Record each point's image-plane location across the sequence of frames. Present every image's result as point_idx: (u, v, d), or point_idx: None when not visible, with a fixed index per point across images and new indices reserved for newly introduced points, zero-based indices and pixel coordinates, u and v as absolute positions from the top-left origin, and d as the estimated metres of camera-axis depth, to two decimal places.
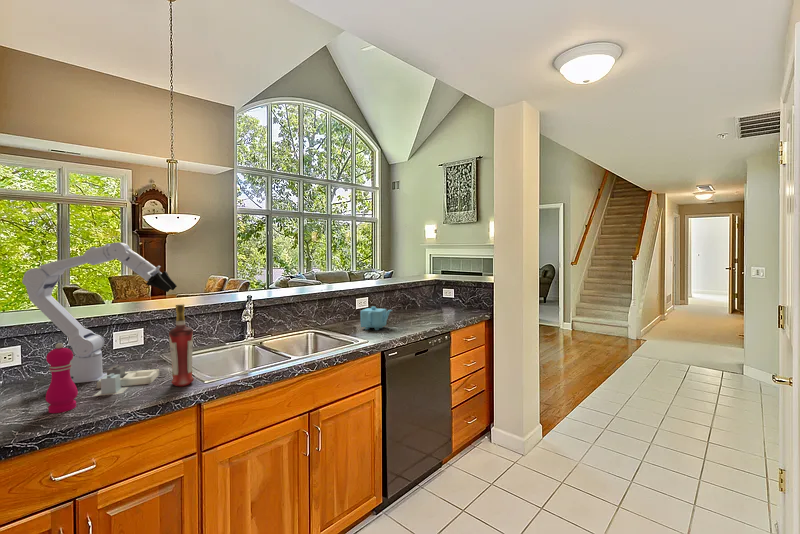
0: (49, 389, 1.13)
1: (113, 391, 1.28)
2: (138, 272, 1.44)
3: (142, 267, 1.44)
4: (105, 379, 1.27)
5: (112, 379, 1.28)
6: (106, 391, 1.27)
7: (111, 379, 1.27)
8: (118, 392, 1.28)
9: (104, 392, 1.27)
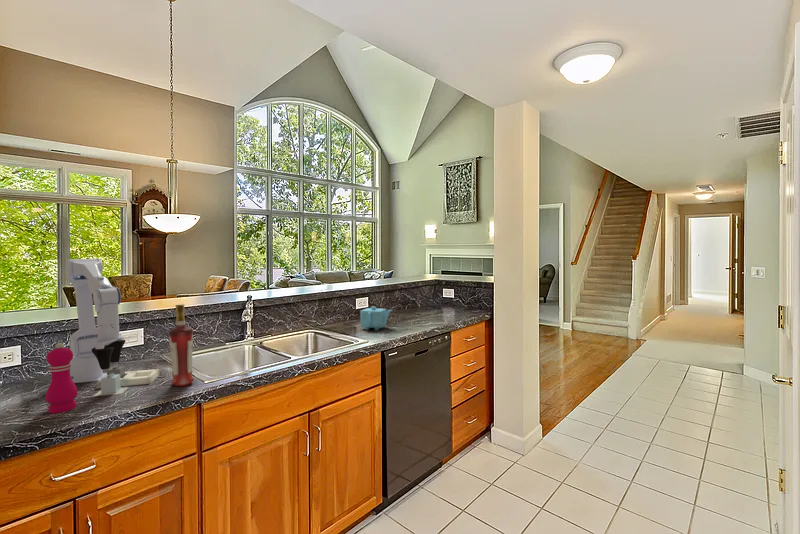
0: (49, 389, 1.13)
1: (113, 391, 1.28)
2: (99, 330, 1.26)
3: (107, 330, 1.26)
4: (105, 379, 1.27)
5: (112, 379, 1.28)
6: (106, 391, 1.27)
7: (111, 379, 1.27)
8: (118, 392, 1.28)
9: (104, 392, 1.27)
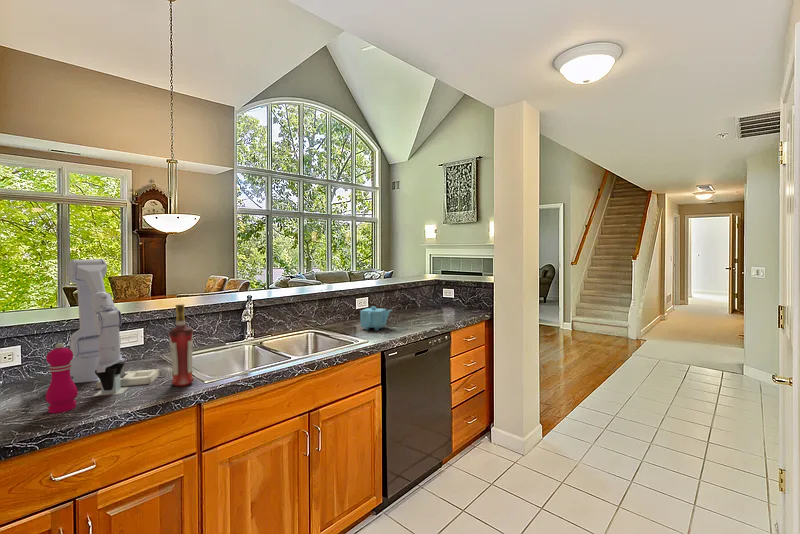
0: (49, 389, 1.13)
1: (113, 391, 1.28)
2: (100, 353, 1.26)
3: (108, 352, 1.26)
4: None
5: None
6: (106, 391, 1.27)
7: None
8: (118, 392, 1.28)
9: (104, 392, 1.27)
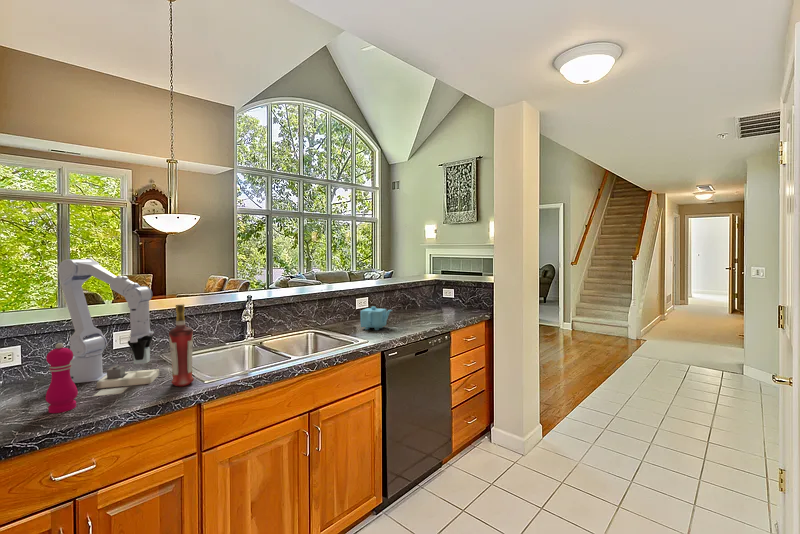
0: (49, 389, 1.13)
1: (144, 361, 1.39)
2: (132, 325, 1.37)
3: (139, 325, 1.37)
4: None
5: None
6: (137, 362, 1.38)
7: None
8: (118, 392, 1.28)
9: (136, 362, 1.38)
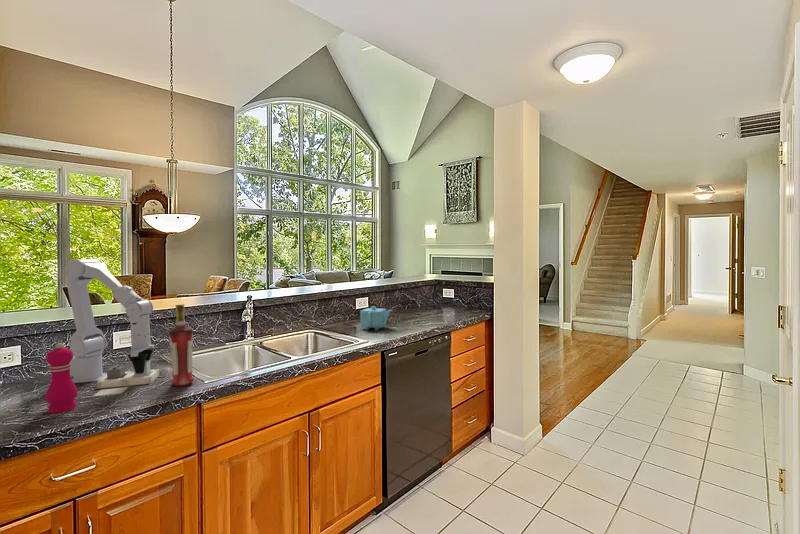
0: (49, 389, 1.13)
1: (145, 375, 1.39)
2: (132, 339, 1.37)
3: (140, 339, 1.37)
4: None
5: None
6: (138, 375, 1.38)
7: None
8: (118, 392, 1.28)
9: (136, 376, 1.38)
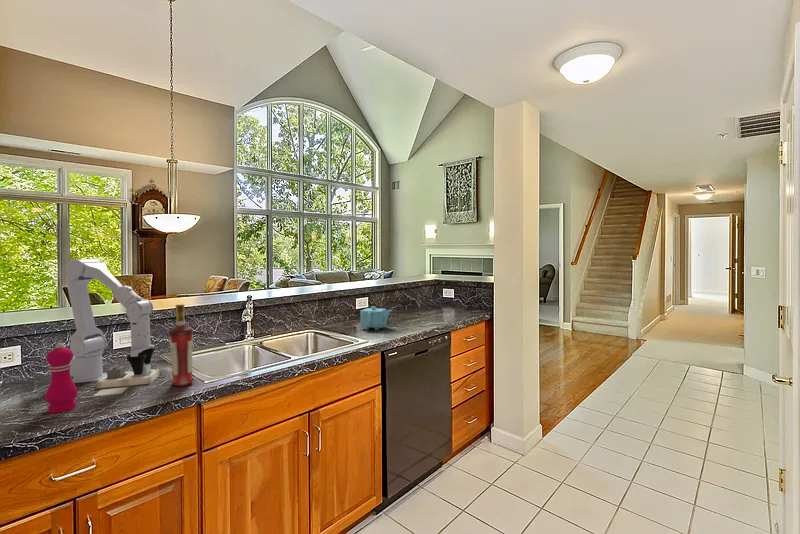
0: (49, 389, 1.13)
1: None
2: (132, 339, 1.37)
3: (140, 339, 1.37)
4: None
5: (143, 368, 1.39)
6: None
7: None
8: (118, 392, 1.28)
9: None
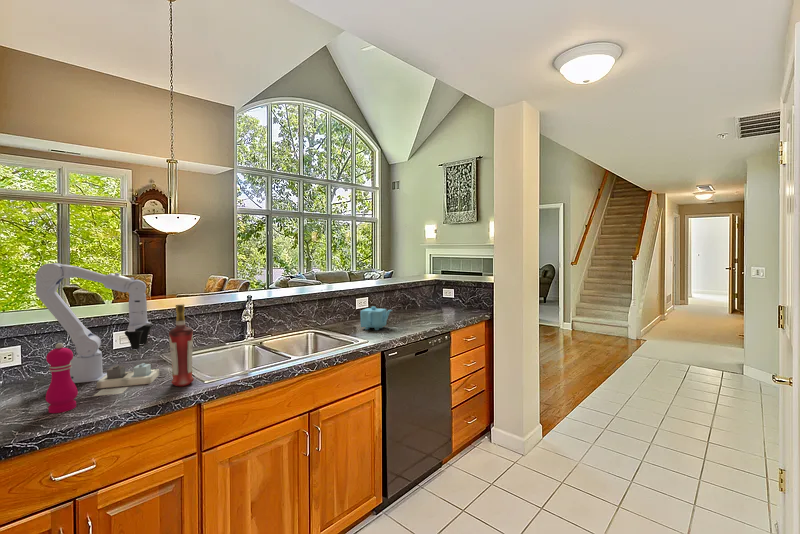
0: (49, 389, 1.13)
1: None
2: (130, 316, 1.47)
3: (137, 316, 1.47)
4: (137, 368, 1.38)
5: (143, 368, 1.39)
6: None
7: (142, 368, 1.39)
8: (118, 392, 1.28)
9: None
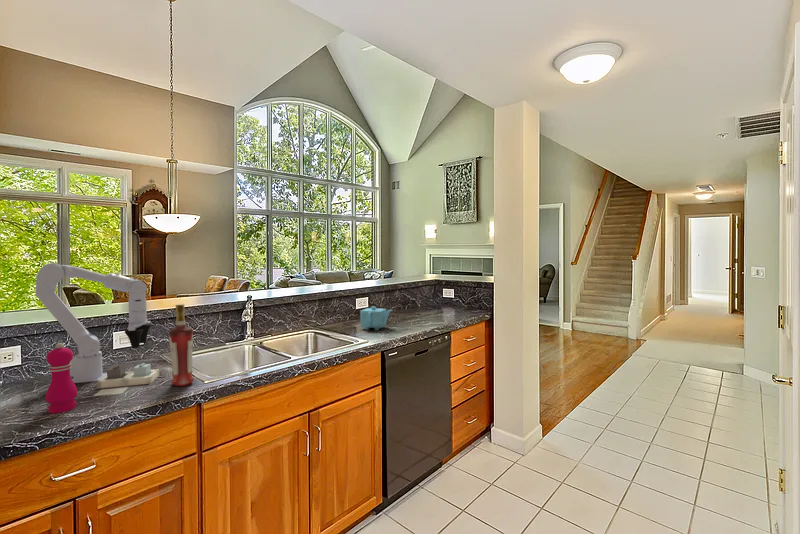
0: (49, 389, 1.13)
1: None
2: (130, 315, 1.49)
3: (137, 315, 1.49)
4: (137, 368, 1.38)
5: (143, 368, 1.39)
6: None
7: (142, 368, 1.39)
8: (118, 392, 1.28)
9: None
